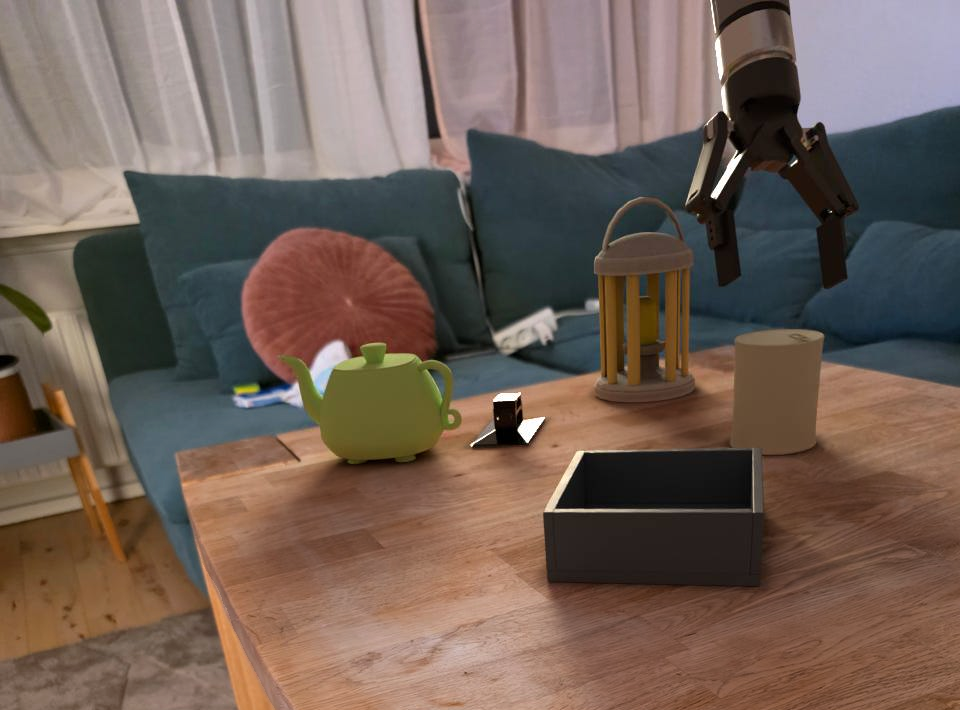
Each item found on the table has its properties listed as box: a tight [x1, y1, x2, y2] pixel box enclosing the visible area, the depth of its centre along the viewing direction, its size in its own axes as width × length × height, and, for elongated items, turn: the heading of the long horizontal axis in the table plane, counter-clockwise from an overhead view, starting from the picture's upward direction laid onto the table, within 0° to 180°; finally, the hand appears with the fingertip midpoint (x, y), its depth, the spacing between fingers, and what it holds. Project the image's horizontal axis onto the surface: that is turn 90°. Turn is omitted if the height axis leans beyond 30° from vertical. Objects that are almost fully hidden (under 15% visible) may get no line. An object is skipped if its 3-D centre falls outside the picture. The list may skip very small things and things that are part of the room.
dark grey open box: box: [542, 447, 765, 587], centre depth 76 cm, size 17×17×6 cm
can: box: [729, 328, 825, 456], centre depth 97 cm, size 9×9×12 cm
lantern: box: [593, 196, 696, 403], centre depth 122 cm, size 14×14×25 cm
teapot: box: [277, 342, 463, 465], centre depth 109 cm, size 22×15×13 cm
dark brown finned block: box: [470, 392, 546, 448], centre depth 113 cm, size 12×7×5 cm, turn 166°
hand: (784, 283), depth 92 cm, fingers open, 13 cm apart
